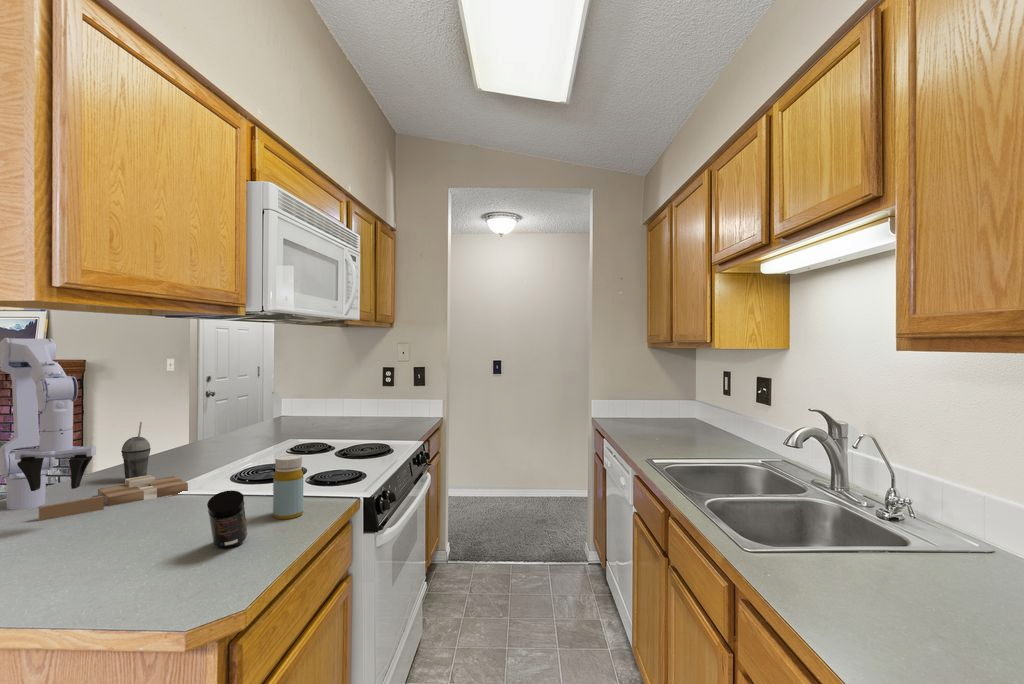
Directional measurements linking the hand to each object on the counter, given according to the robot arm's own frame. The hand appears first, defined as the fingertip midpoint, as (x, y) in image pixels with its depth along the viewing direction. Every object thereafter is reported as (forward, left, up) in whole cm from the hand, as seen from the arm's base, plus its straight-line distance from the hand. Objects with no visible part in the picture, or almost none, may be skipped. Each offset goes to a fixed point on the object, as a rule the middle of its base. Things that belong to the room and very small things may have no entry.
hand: (55, 488), depth 116 cm
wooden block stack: (-10, +21, -10) cm, 25 cm away
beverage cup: (-31, +23, -11) cm, 40 cm away
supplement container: (+39, +22, -11) cm, 46 cm away
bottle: (+29, +41, -11) cm, 51 cm away
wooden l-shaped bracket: (-7, +4, -10) cm, 13 cm away
